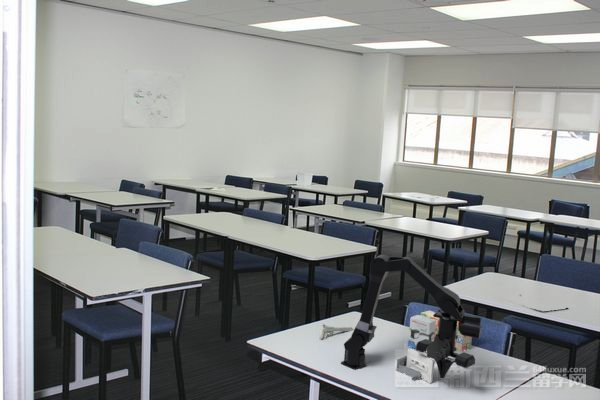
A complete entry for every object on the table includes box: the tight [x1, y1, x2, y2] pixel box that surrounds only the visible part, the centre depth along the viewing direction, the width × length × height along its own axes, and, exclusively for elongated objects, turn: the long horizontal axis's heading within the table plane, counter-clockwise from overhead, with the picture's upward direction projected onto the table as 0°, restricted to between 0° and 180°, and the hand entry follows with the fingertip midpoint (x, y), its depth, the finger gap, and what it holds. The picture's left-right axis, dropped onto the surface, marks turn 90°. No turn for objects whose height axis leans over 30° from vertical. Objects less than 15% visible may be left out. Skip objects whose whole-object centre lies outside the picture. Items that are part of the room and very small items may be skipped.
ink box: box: [407, 314, 436, 349], centre depth 223 cm, size 8×5×12 cm, turn 47°
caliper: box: [319, 323, 355, 340], centre depth 231 cm, size 20×1×6 cm, turn 137°
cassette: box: [406, 347, 436, 384], centre depth 197 cm, size 12×2×8 cm, turn 32°
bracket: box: [395, 355, 421, 382], centre depth 199 cm, size 9×9×4 cm
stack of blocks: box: [419, 310, 473, 352], centre depth 233 cm, size 21×6×12 cm, turn 39°
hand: (442, 378), depth 191 cm, fingers closed
